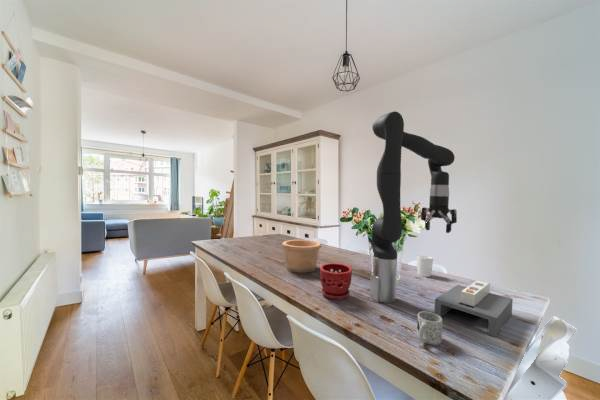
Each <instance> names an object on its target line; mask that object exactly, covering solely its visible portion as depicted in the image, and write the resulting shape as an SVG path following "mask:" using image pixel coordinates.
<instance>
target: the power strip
mask: <svg viewBox="0 0 600 400" xmlns="http://www.w3.org/2000/svg"><path fill="white" fill-rule="evenodd" d="M490 286H491V282H489V281H485V280H480V279H477V280H476V281H474V282H472V283H471V284H469V285H468V286H466V287H467V288H465V289H464V290H462V291H461V303H464V304H463V305H465V304H466V305H465V306H468V307H471V308H474V307H473V306H475V305H476V304H477V303H479V302H480V301H481V300H482V299H483V298H484V297H485V296H486V295H488V294H489V293H491V292H490V288H491V287H490Z"/></svg>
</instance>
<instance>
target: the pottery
mask: <svg viewBox="0 0 600 400" xmlns="http://www.w3.org/2000/svg"><path fill="white" fill-rule="evenodd" d="M281 245H282V247H283V248H284V256H285V267H286V270H287V271H289V272H293V273H299V274H300V273H302V274H304V273H305V274H306V273H311V272H314V271H316V269H317V262H318V258H319V256H318V255H319V250H320V249H321V248H322V243H321V242H318V241H315V240H310V239H290V240H285V241H283V242H282V244H281Z"/></svg>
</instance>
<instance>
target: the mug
mask: <svg viewBox="0 0 600 400" xmlns="http://www.w3.org/2000/svg"><path fill="white" fill-rule="evenodd" d="M416 323H417V324H416V325H417V327H416V328H417V329H416V338H417V339H418V340H419V341H418V342H419V343H425V344H426V345H432V346H438V345H441V344H442V340H443V339H442V337H443V336H442V335H443V318H442V317H440V316H439V315H437V314H434V312H430V311H419V312H418V313H417V322H416Z"/></svg>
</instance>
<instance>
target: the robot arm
mask: <svg viewBox="0 0 600 400" xmlns="http://www.w3.org/2000/svg"><path fill="white" fill-rule="evenodd" d="M404 121H405V120H404V118H403V116H402V114H401V113H400V112H398V111H391V112H388V113H386V114H383V115H381V116H378V117H377V118H376V119H374V121H373V123H372V126H371V127H372V131H373V134H374V135H375V136H376V137H377V138H379V139H381V140H385V141H384V142H385V143H384V151H383V154H382V155H381V158H380V161H379V162H378V166H377V169H376V188H377V192H378V195H379V198H380V201H381V204H382V213H383V215H382V216H383V217H379V218H377V219H376V220H374V222H373V223H372V228H371V248H372V251H373V258H372V259H373V262H372V264H373V265H372V273H370V288H369V297H371V298H372V299H373V300H375V302H377V303H380V302H381V303H389V304H391V303H394V302H396V294H397V292H396V291H397V267H398V265H397V264H398V252H397V250H396V248H395V247H394V246H393V243H396V242H397V241H399V239H401V237H402V233H403V221H402V209H401V183H402V169H401V168H402V167H401V165H402V162H401V161H402V147H403V148H405V149H406V150H409V151H410V152H413V153H414V154H416V155H418V157H421V158H422V159H427V164H428V168H429V172H430V176H431V178H430V181H431V182H430V188H429V207H425V206H424V207H422V208H421V216H420V220H421V221H424V223H425V224H424V228H425V230H426V231H430V229H431V222H430V221H432V219H435V218H437V219H443V220H444V221H445V223H446V224H445V225H446V226H445V233H446V234H449V233H450V232H452V225H454V224H456V223H457V222H458V221H457V220H458V219H457V218H458V217H457V213H458V212H457V209H455V208H454V209H453V208H452V209H449V206H450V205H449V203H450V202H449V201H450V199H449V197H450V187H449V185H450V174H449V173H448V172H447V171H443V169H442V167H447V166H450V165H453V163H454V162H455V158H456V157H455V154H454V152H453V151H452V150H451V149H449V148H447V147H444V146H441V145H438V144H434V143H433V142H432V141H430V140H428V139H426V138H425V137H423V136H420V135H417V134H413V133H409V132H406V131H404V130H405V129H404V128H405V122H404ZM428 212H429V214H428V216H427V213H428ZM448 214H450V215H451V217H449V215H448ZM450 218H451V219H450ZM426 222H427V223H426Z"/></svg>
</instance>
